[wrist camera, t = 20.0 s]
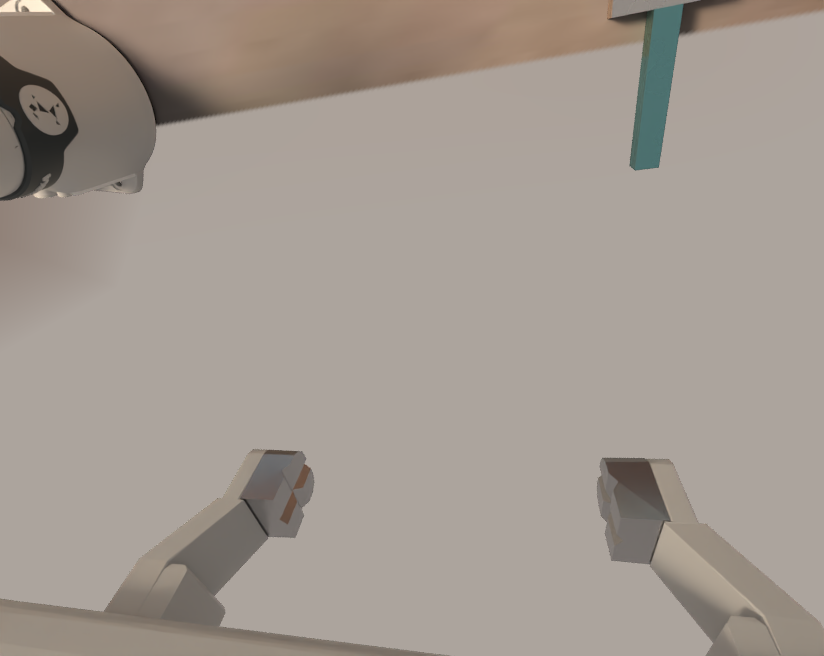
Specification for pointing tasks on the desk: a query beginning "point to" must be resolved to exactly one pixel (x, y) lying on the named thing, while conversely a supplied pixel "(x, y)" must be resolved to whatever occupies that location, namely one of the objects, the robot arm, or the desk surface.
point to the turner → (652, 74)
